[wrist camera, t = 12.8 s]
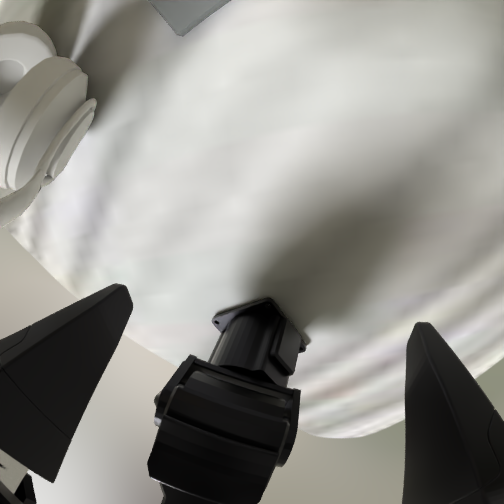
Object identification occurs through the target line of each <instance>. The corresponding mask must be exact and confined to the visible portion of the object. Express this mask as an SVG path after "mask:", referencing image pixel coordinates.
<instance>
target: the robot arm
mask: <svg viewBox="0 0 504 504" xmlns="http://www.w3.org/2000/svg"><path fill="white" fill-rule="evenodd" d="M267 304H270V305H267ZM132 310H133V302H132V300H131V297H130V294H129V291H128V289H127V287H126V286H125V285H122V284H117V283H115V284H112V285H110V286H108V287H106V288H104V289H102V290H100V291H98V292H96V293H94V294H92V295H90V296H88V297H86V298H84V299H81V300H79V301H77V302H75V303H73V304H71V305H70V306H68V307H65V308H63V309H61V310H59V311H57V312H55V313H53V314H51V315H49V316H48V317H46V318H44V319H42V320H40V321H38V322H36V323H34V324H32V325H30V326H28V327H26V328H24V329H22V330H20V331H18V332H16V333H14V334H12V335H10V336H8V337H6V338H3V339H1V340H0V504H36V498H35V493H34V488H33V483H32V477H31V476H30V475H29V474H28V473H27V471H28V469H30V470H31V471H33V472H34V473H36V474H38V475H39V476H41V477H43V478H44V479H46V480H48V481H49V482H51V483H54V481H55V479H56V477H57V474H58V472H59V469H60V467H61V464H62V462H63V459H64V457H65V455H66V452H67V450H68V447H69V445H70V443H71V439H72V438H73V435H74V433H75V431H76V429H77V426H78V424H79V422H80V420H81V418H82V416H83V413H84V411H85V409H86V407H87V405H88V403H89V401H90V399H91V397H92V395H93V393H94V391H95V388H96V386H97V384H98V383H99V381H100V379H101V377H102V374H103V373H104V371H105V369H106V367H107V365H108V363H109V361H110V359H111V357H112V355H113V353H114V352H115V349H116V347H117V345H118V343H119V341H120V338H121V336H122V334H123V331H124V329H125V327H126V324H127V322H128V320H129V317H130V315H131V313H132ZM212 323H213V324H214V325H215V327H216V328H217V329H218V330H219V331H220V332H221V335H220V337H219V339H218V341H217V343H216V346H215V348H214V350H213V352H212V354H211V356H210V358H209V360H208V362H206V361H203V360H201V359H198V358H197V357H196V356H193V355H191V354H190V355H189V356H188V358H187V359H186V360H185V361H183V362H182V364H181V365H180V366H179V368H178V369H177V371H176V372H175V373H174V375H173V376H172V378H171V379H170V380H169V381H168V383H167V384H166V386H165V387H164V388H163V390H162V391H160V392H159V393H158V394H157V395H156V397H155V399H154V403H155V405H156V413H155V419H154V423H155V425H156V426H158V427H159V429H158V433H157V436H156V439H155V442H154V445H153V448H152V452H151V454H150V457H149V459H148V462H147V465H148V471H149V476H150V478H152V479H154V480H156V481H159V483H160V486H161V489H162V492H163V495H164V497H163V500H162V503H161V504H257V503H259V502H260V500H261V497H262V495H263V492H264V491H265V489H266V487H267V485H268V482H269V480H270V478H271V475H272V473H273V471H274V469H275V466H277V467H282V466H283V465H284V464H285V463H286V461H287V459H288V457H289V455H290V452H291V451H292V448H293V445H294V442H295V438H296V434H297V428H298V418H299V406H300V394H301V390H299V389H295V388H294V389H291V388H287V383H288V379H289V376H291V375H293V373H294V371H295V367H296V362H297V357H298V353H302V352H305V351H306V344H305V342H304V341H303V340H302V338H301V335H300V334H299V333H298V331H297V330H296V329H295V327H294V326H293V324H292V323H291V322H290V320H289V319H288V318H287V317H286V316H285V315H284V314H283V312H282V311H281V310H280V308H279V307H278V305H277V304H276V303H275V301H274V300H273V299H271V298H265V299H262V300H260V301H257V302H254V303H251V304H248V305H245V306H242V307H239V308H236V309H233V310H230V311H227V312H224V313H221V314H218V315H215V316H214V317H213V319H212ZM405 428H406V430H405V432H406V433H405V471H404V488H403V498H402V504H504V421H503V420H502V418H501V416H500V415H499V413H498V412H497V410H494V406H493V405H492V403H491V402H490V400H489V399H488V397H487V396H486V395H485V393H484V392H483V390H482V389H481V388H480V386H479V385H478V383H477V382H476V381H475V379H474V378H473V377H472V375H471V374H470V372H469V371H468V370H467V368H466V367H465V366H464V365H463V363H462V362H461V361H460V359H459V358H458V357H457V355H456V354H455V353H454V352H453V350H452V349H451V348H450V347H449V345H448V344H447V343H446V342H445V340H444V339H443V338H442V337H441V335H440V334H439V333H438V332H437V330H436V329H435V328H434V327H433V326H432V325H431V324H430V323H428V322H417V323H416V324H415V326H414V328H413V331H412V333H411V335H410V338H409V340H408V343H407V349H406V380H405Z"/></svg>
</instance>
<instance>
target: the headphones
mask: <svg viewBox="0 0 504 504" xmlns="http://www.w3.org/2000/svg"><path fill="white" fill-rule="evenodd" d="M87 85H88V75H86V74H85V73H83V72H82V69H81V68H80V67H78V66H77V65H76V64H75V63H74V62H73V61H72V60H70V59H69V58H65V57H58V56H57V52H56V49H55V47H54V45H53V42H52V40H51V38H50V37H49V36H48V35H47V34H46V33H45V32H44V31H43V30H42V29H41V28H40V27H39V26H37V25H35V24H32V23H28V22H25V21H15V22H6V23H4V24H1V25H0V187H2V188H5V189H14V190H16V191H15V192H13V193H11V194H9V195H8V196H6V197H4V198H1V199H0V228H2V227H3V226H5V225H7V224H8V223H10V222H11V221H13V220H15V219H16V218H18V217H19V216H21V215H22V214H23V212H24V211H25V210H26V209H27V208H28V207H29V206H30V204H31V203H32V202H33V200H34V199H35V198H36V196H37V194H38V192H39V191H40V189H41V187H44V186H46V185H48V184H50V183H51V182H52V181H54V180H55V178H56V177H57V176H58V175H59V174H60V173H61V172H62V171H63V169H64V168H65V166H66V165H67V163H68V161H69V159H70V158H71V156H72V154H73V153H74V151H75V150H76V148H77V146H78V145H79V143H80V141H81V140H82V138H83V137H84V136H85V134H86V132H87V130H88V128H89V126H90V124H91V122H92V120H93V118H94V110H95V108H96V105H97V101H96V99H94V98H92V99H89V100H87V101H86V94H87ZM46 174H47V176H45V175H46Z"/></svg>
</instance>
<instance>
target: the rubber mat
mask: <svg viewBox="0 0 504 504" xmlns="http://www.w3.org/2000/svg"><path fill="white" fill-rule="evenodd" d="M229 1H231V0H149V2H150V3H151V4H152V5H153V6H154V8H155V9H156V10H157V11H158V12H159V13H160V15H161V16H162V17H163V18H164V20H165V21H166V22H167V23H168V24H169V26H170V27H171V28H172V29H173V31H174V32H175V33H176V34H177V35H179V36H184V35H185V34H186V33H188V32H189V31H190V30H191V29H193V28H194V27H195V26H196V25H198V24H199V23H200V22H202V21H203V20H204V19H205V18H207V17H208V16H209V15H211V14H212V13H214V12H215V11H216V10H218V9H219V8H221V7H222V6H223V5H225V4H226V3H228V2H229Z"/></svg>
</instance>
